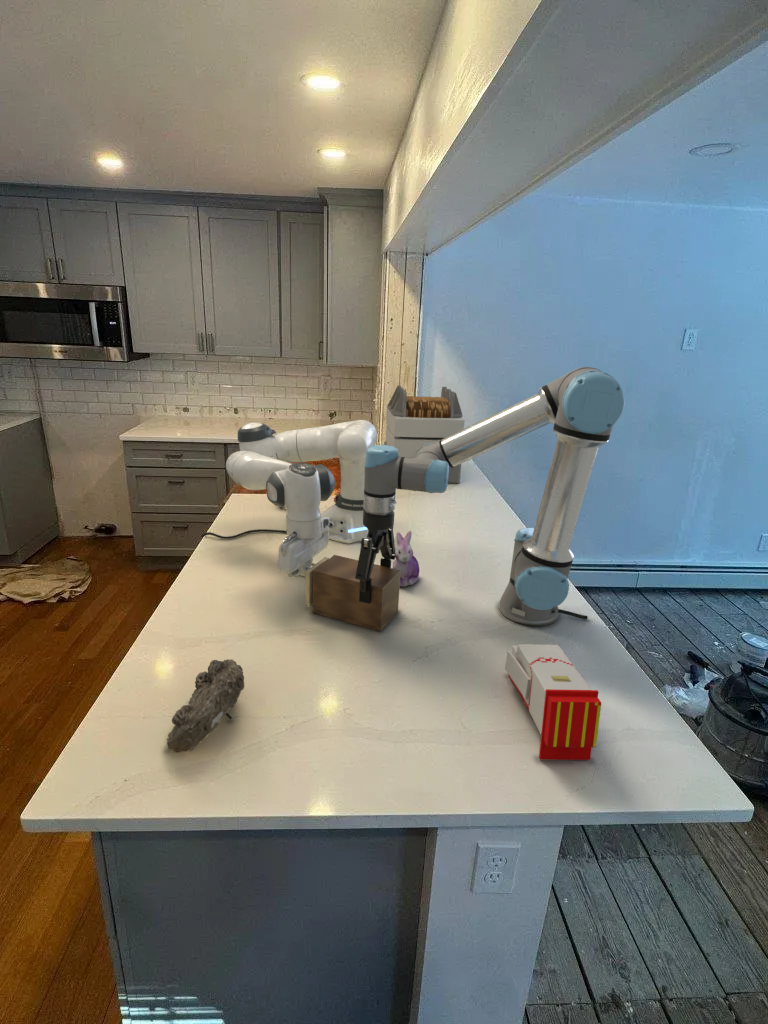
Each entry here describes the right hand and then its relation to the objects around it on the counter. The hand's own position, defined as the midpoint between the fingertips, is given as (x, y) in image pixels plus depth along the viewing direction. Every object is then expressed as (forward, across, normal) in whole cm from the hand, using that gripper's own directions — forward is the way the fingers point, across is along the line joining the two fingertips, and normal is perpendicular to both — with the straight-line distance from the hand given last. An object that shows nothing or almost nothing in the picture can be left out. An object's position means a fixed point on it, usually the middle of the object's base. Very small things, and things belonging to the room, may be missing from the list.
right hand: (375, 591), depth 143 cm
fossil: (+7, -48, +12) cm, 50 cm away
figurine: (+7, +23, +1) cm, 24 cm away
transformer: (+8, +134, +38) cm, 139 cm away
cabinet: (+7, 0, +5) cm, 9 cm away
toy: (+7, -17, -45) cm, 49 cm away
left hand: (0, 0, +21) cm, 21 cm away
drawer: (+6, 0, +11) cm, 13 cm away
